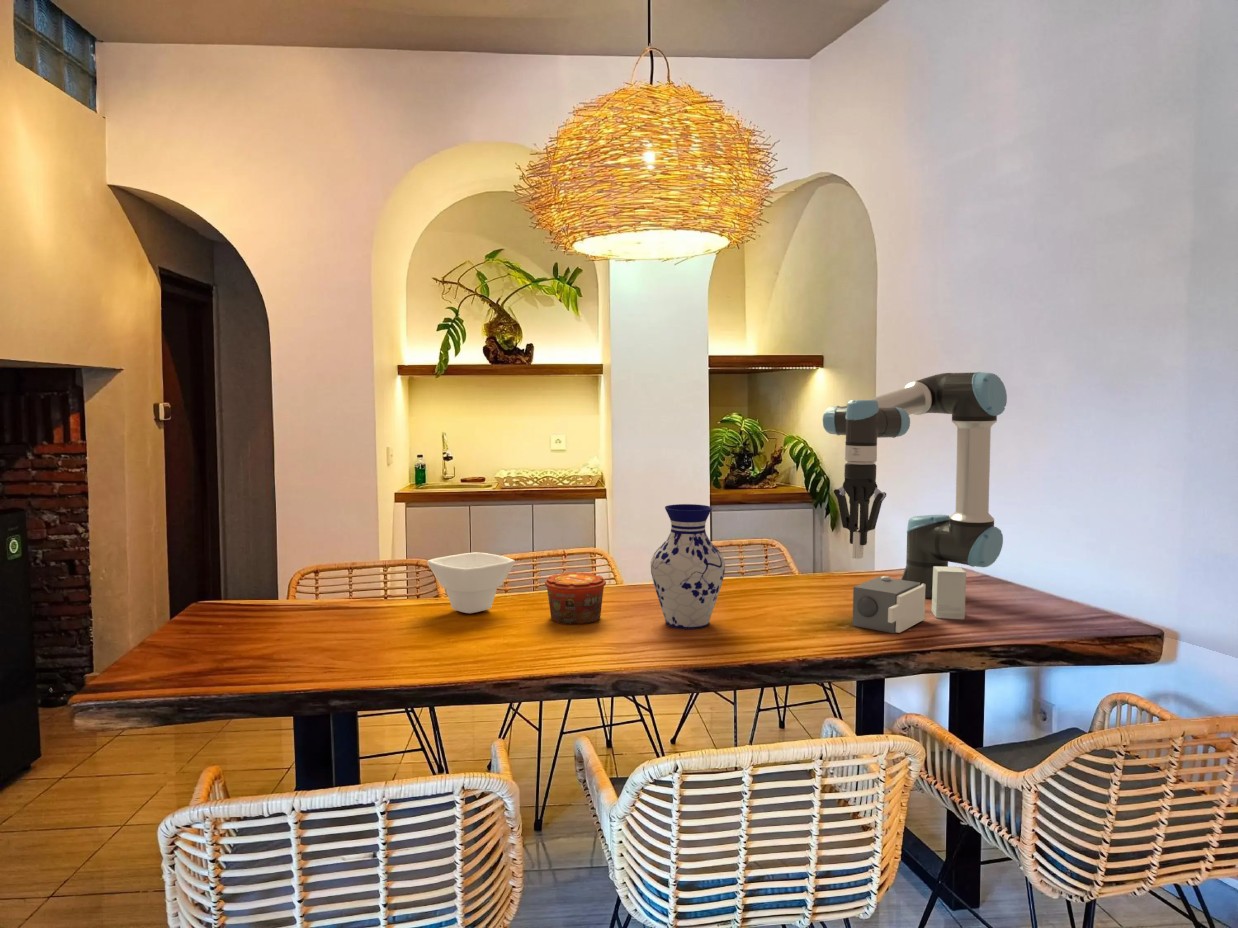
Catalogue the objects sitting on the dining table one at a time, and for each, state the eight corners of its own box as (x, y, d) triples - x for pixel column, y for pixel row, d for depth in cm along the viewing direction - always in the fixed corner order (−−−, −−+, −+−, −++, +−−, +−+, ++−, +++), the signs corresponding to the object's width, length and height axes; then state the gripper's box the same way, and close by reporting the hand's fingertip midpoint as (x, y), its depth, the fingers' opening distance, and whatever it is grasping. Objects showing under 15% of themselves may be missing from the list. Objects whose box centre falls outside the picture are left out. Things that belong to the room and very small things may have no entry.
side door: (921, 619, 224) (922, 583, 223) (924, 619, 223) (926, 583, 222) (887, 637, 207) (888, 598, 206) (891, 638, 207) (892, 599, 206)
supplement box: (965, 619, 224) (967, 572, 223) (935, 618, 226) (937, 571, 225) (959, 612, 232) (961, 566, 231) (931, 611, 233) (932, 565, 232)
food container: (534, 623, 220) (534, 581, 219) (560, 608, 235) (560, 569, 234) (592, 629, 214) (592, 587, 213) (614, 613, 229) (614, 574, 228)
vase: (731, 617, 226) (733, 504, 223) (715, 637, 208) (717, 514, 205) (661, 611, 232) (662, 501, 229) (640, 629, 214) (641, 510, 211)
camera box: (878, 613, 231) (879, 573, 230) (918, 620, 224) (920, 579, 223) (851, 626, 218) (852, 584, 217) (893, 634, 211) (894, 590, 210)
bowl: (521, 610, 232) (521, 559, 231) (463, 624, 218) (462, 570, 216) (478, 599, 244) (478, 550, 243) (421, 611, 230) (420, 560, 229)
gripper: (828, 462, 212) (826, 556, 214) (879, 465, 204) (876, 563, 206) (842, 460, 218) (839, 552, 220) (892, 463, 209) (889, 558, 211)
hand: (857, 557), depth 213 cm, fingers closed
